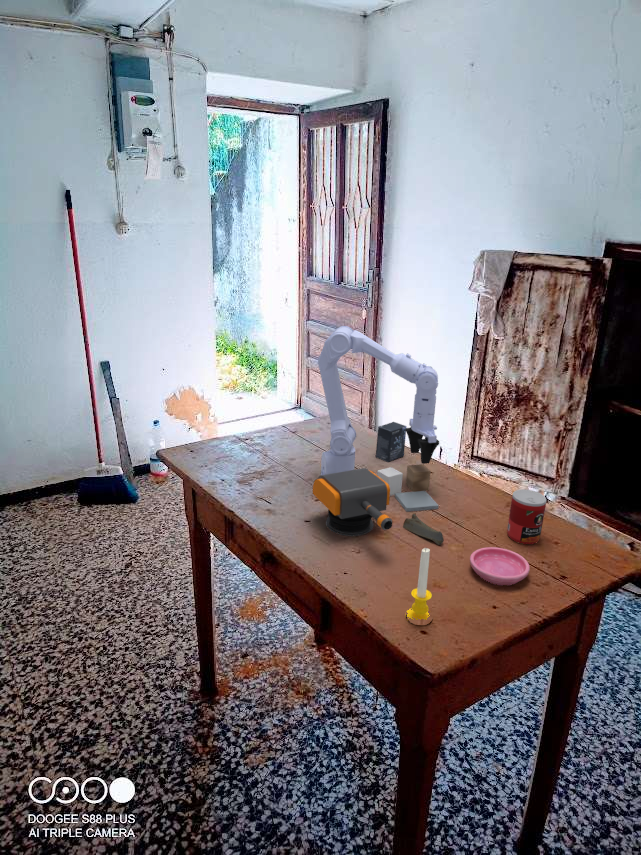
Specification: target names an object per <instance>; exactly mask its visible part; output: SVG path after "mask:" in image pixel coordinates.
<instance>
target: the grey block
mask: <svg viewBox="0 0 641 855" xmlns="http://www.w3.org/2000/svg"><path fill="white" fill-rule="evenodd" d="M403 474H404V473H403V472H401V471H399V470H397V469H395V468H394V467H392V466H389V467H387V468H386V467H385V468H383V469H379V470H377V472H376V475H377V476H379V477H380V478H381V479H382V480H384V481H385V482H386V483H388V484H389V487H390V497H391V496H395V493H402V489H403V488H402V486H403Z"/></svg>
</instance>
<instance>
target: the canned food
mask: <svg viewBox="0 0 641 855" xmlns="http://www.w3.org/2000/svg"><path fill="white" fill-rule="evenodd" d="M510 501H511V502H510V509H509V514H508V515H509V516H508V521H507V527H506V531H507V532H506V533H507V536H508V538H509V537H510V538H509V539H511V540H512V541H513V540H514V541H513V542H515V541H516V542H515V543H517V542H519V543H518V544H521V543H523V544H522V545H526V544H531V545H535V544H537V543H538V542H539V541H540V538H541V536H542V530H543V529H542V528H543V523H544V517H545V512H546V506H547V498H546V497H545V495H544V494H542V493H540V492H538V491H534V490H531V489H517V490H515V491H513V492H512V495H511V500H510ZM536 542H537V543H536ZM534 543H535V544H534Z"/></svg>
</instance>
